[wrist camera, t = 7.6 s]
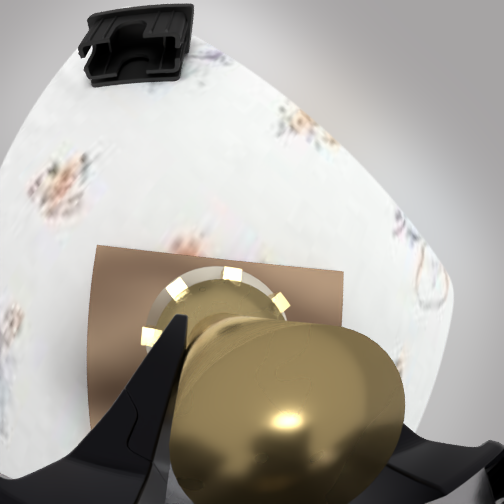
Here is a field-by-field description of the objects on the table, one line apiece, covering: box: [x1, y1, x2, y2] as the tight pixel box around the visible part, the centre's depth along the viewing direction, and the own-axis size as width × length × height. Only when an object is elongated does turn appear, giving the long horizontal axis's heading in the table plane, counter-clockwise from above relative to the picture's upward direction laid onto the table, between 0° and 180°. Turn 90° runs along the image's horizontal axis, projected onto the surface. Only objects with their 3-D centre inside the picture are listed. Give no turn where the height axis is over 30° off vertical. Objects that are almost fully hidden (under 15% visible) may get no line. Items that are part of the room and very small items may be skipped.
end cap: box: [78, 4, 194, 87], centre depth 18 cm, size 10×7×7 cm
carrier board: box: [87, 245, 343, 430], centre depth 16 cm, size 20×17×2 cm
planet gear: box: [141, 267, 405, 504], centre depth 9 cm, size 8×8×12 cm
